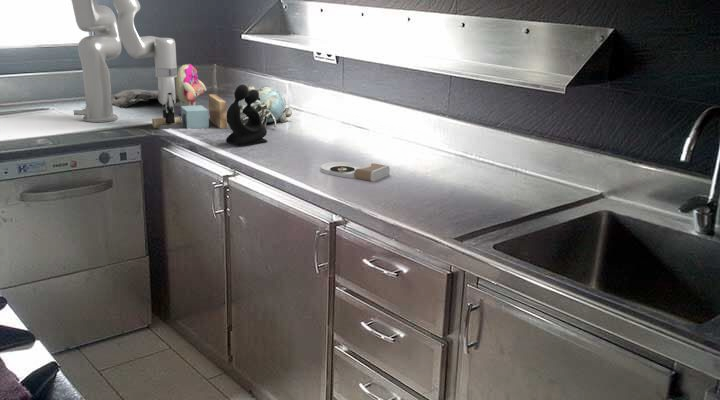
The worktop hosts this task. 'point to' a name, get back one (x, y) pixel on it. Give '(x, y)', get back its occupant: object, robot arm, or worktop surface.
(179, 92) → the toy
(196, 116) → the block
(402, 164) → the worktop surface
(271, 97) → the sculpture
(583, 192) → the worktop surface
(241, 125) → the figurine
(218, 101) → the block
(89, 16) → the robot arm
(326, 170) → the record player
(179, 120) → the dowel
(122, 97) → the stone fragment
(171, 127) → the guide rails
